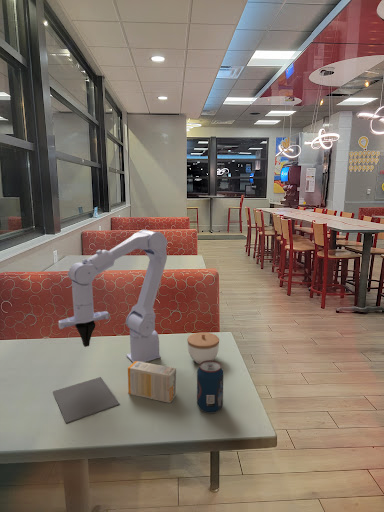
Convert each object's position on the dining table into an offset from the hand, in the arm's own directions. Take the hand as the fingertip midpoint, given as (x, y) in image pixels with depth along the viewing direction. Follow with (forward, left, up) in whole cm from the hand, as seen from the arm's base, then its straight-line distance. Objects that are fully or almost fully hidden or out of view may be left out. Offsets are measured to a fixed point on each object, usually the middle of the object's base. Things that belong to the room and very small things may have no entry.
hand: (86, 345), depth 105 cm
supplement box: (-9, +14, -6) cm, 18 cm away
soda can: (-23, +33, -11) cm, 42 cm away
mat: (+4, +11, -10) cm, 16 cm away
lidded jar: (-36, +11, -11) cm, 39 cm away
